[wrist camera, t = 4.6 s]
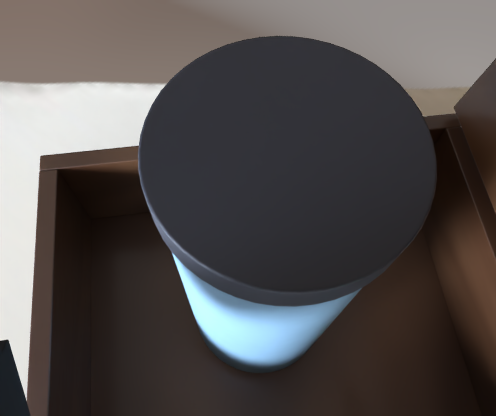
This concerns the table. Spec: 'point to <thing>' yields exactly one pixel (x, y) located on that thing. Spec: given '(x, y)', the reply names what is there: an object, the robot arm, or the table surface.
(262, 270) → the canister
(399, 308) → the chest
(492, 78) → the chest lid
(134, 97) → the table surface
